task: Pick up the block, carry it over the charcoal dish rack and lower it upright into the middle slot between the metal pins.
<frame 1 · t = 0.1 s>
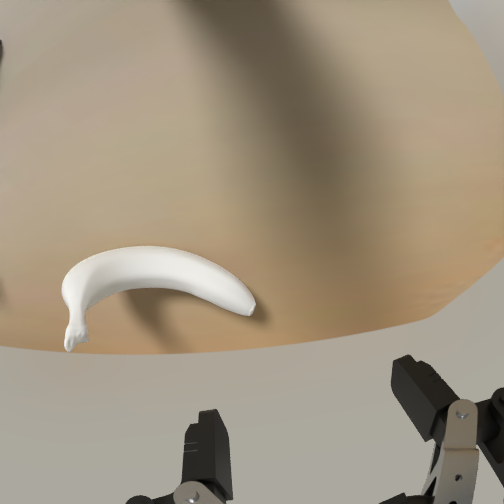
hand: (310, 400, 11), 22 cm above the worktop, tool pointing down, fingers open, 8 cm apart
white plaster fruit: (170, 261, 32), on the worktop
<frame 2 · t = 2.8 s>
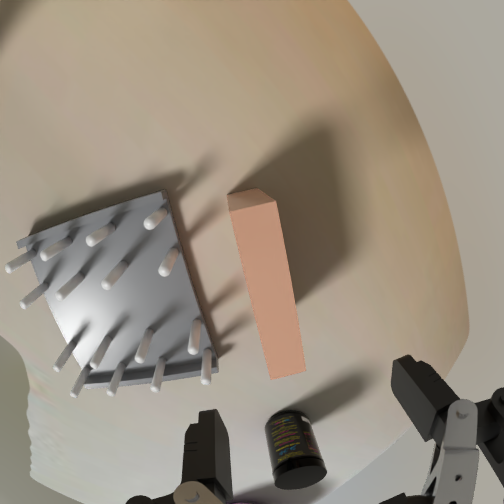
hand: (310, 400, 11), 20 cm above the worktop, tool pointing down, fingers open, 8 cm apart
supplement container: (286, 422, 38), on the worktop
block: (257, 259, 30), on the worktop
rack: (116, 301, 30), on the worktop
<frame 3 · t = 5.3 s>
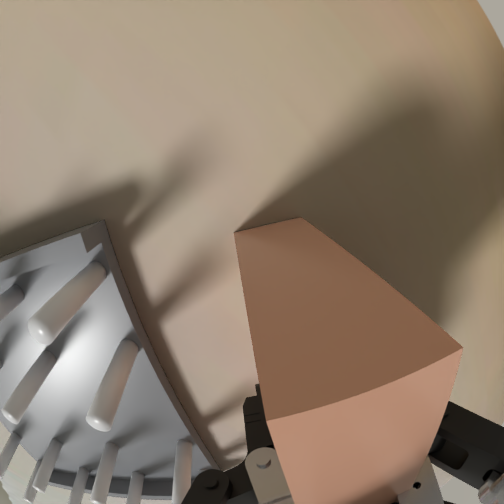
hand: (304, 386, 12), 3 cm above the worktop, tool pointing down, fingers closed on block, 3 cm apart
block: (293, 352, 15), on the worktop, touching gripper
rack: (57, 398, 15), on the worktop
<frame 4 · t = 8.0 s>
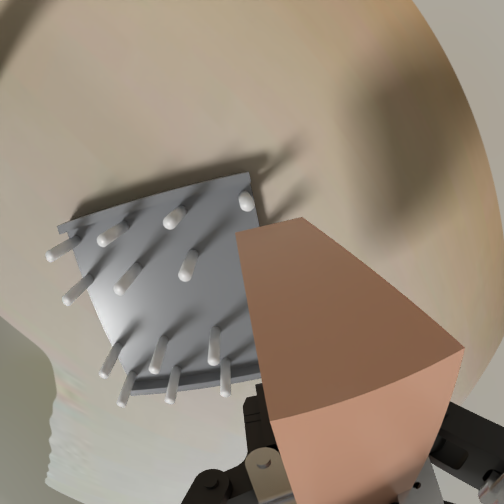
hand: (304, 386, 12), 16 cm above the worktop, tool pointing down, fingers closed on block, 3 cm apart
block: (294, 352, 15), point 14 cm above the worktop, touching gripper
rack: (178, 296, 28), on the worktop
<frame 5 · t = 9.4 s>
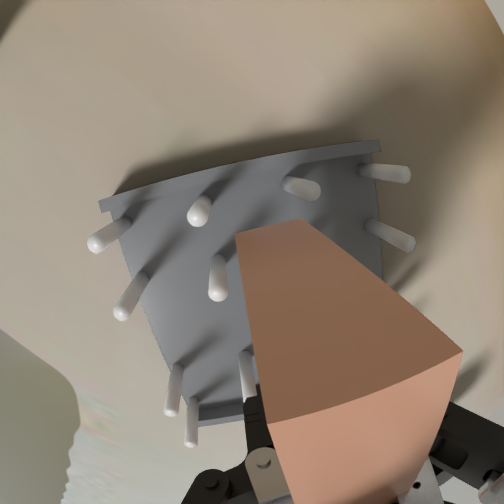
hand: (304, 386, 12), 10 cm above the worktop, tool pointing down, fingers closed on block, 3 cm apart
block: (293, 353, 15), point 7 cm above the worktop, touching gripper
rack: (267, 297, 22), on the worktop
when the fingers open (5 cm above the worktop, at t = 10.7 s): block drops 1 cm, resting on rack.
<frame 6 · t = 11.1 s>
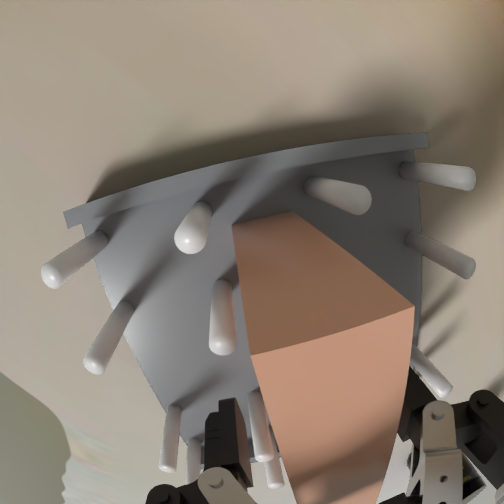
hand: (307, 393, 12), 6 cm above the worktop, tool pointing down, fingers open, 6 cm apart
supplement container: (426, 446, 25), on the worktop
block: (286, 338, 16), point 1 cm above the worktop, touching rack
rack: (284, 329, 17), on the worktop
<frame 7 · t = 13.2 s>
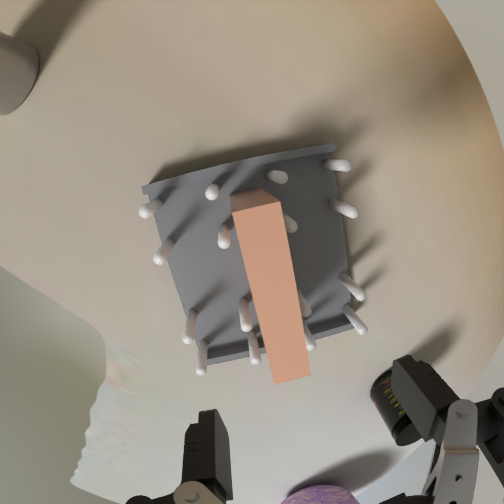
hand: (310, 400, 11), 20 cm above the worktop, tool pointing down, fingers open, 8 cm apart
supplement container: (387, 383, 39), on the worktop
block: (260, 260, 30), point 1 cm above the worktop, touching rack
bowl of food: (310, 491, 48), on the worktop
rack: (259, 257, 30), on the worktop
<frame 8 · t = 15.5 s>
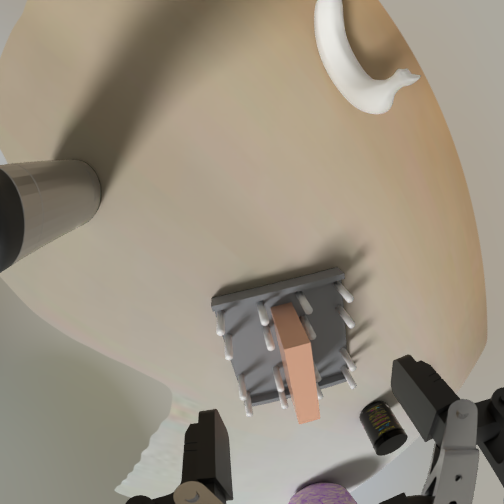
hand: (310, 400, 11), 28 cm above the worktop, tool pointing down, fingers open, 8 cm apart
supplement container: (372, 410, 52), on the worktop
block: (288, 344, 42), point 1 cm above the worktop, touching rack
bowl of food: (314, 488, 61), on the worktop
rack: (287, 341, 43), on the worktop
white plaster fruit: (331, 57, 32), on the worktop
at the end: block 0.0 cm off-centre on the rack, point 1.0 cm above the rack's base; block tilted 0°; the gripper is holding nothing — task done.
